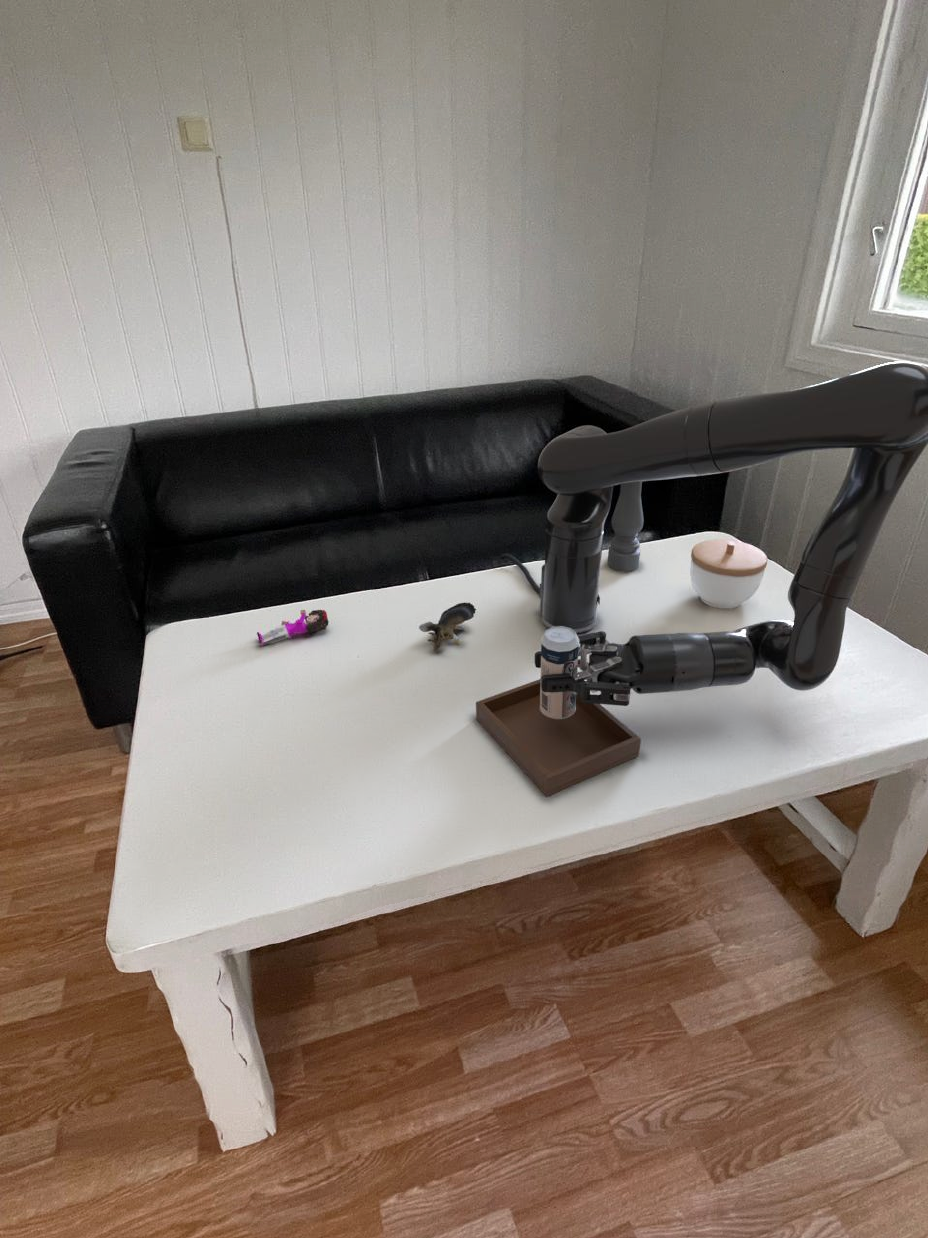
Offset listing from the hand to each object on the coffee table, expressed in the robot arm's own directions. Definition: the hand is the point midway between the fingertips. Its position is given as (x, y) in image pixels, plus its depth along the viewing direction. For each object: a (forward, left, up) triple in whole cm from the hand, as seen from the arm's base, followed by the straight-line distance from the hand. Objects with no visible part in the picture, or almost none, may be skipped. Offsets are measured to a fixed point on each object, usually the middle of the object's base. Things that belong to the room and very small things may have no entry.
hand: (538, 671), depth 89 cm
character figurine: (-43, -21, -11) cm, 49 cm away
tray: (+1, +2, -11) cm, 11 cm away
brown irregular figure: (-28, +1, -11) cm, 30 cm away
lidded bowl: (-15, +50, -11) cm, 54 cm away
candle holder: (-35, +44, -11) cm, 58 cm away
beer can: (+1, +2, -7) cm, 7 cm away
